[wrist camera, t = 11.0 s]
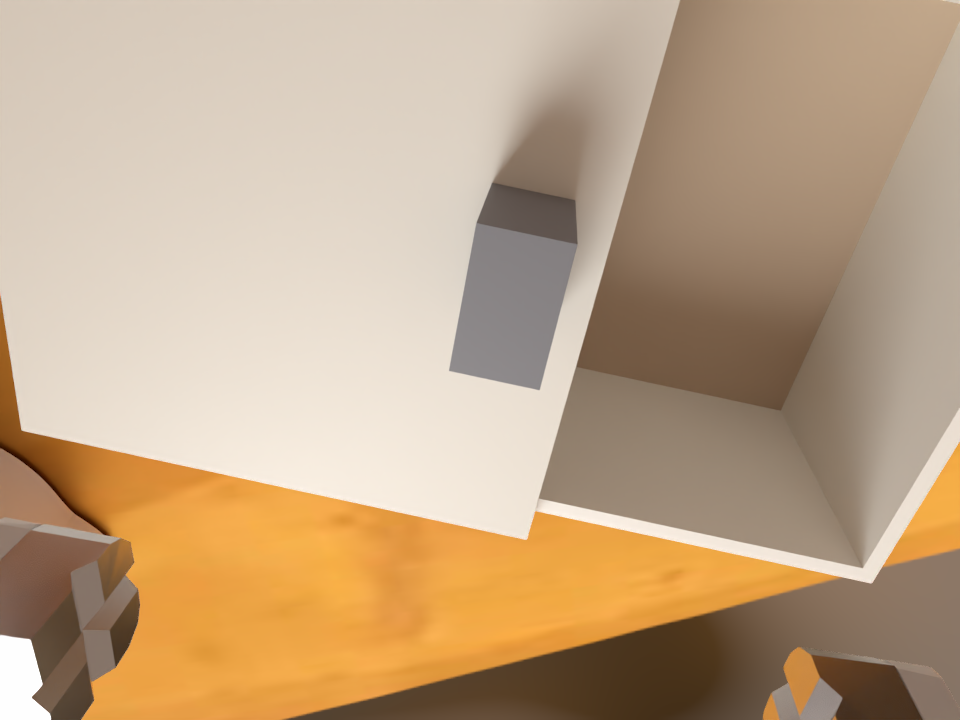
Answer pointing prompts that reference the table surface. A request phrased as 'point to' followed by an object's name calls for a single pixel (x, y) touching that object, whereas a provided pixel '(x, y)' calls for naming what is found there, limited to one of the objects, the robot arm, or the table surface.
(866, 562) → the carton
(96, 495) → the table surface
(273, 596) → the table surface
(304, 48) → the lid
